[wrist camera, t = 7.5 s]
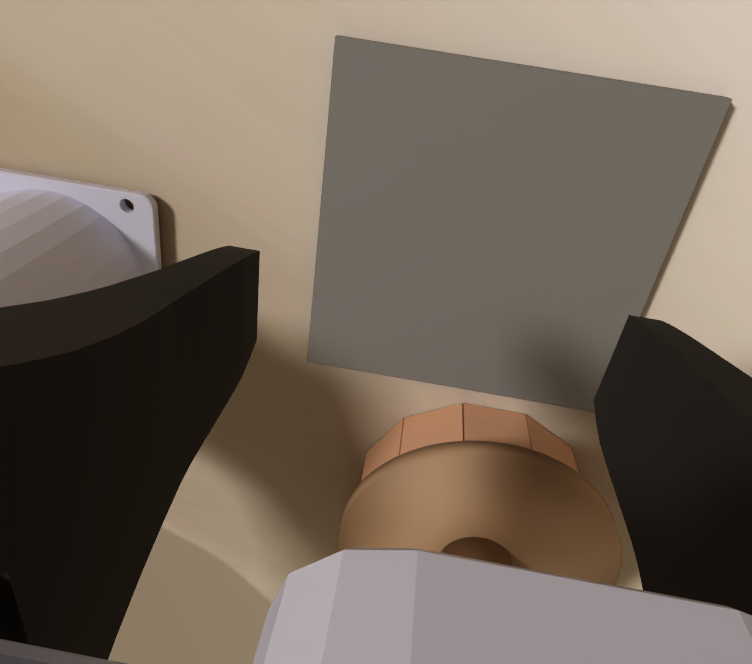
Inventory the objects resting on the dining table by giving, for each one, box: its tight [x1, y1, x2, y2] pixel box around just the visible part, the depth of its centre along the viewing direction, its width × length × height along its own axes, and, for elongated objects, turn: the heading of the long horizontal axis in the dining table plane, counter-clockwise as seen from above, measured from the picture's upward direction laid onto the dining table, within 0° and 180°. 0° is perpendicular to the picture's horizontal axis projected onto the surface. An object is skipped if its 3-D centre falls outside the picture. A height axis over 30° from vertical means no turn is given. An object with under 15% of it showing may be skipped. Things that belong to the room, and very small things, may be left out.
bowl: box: [361, 403, 579, 481], centre depth 25 cm, size 10×10×4 cm
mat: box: [307, 35, 732, 412], centre depth 21 cm, size 12×12×1 cm
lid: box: [337, 441, 622, 585], centre depth 22 cm, size 11×11×4 cm
